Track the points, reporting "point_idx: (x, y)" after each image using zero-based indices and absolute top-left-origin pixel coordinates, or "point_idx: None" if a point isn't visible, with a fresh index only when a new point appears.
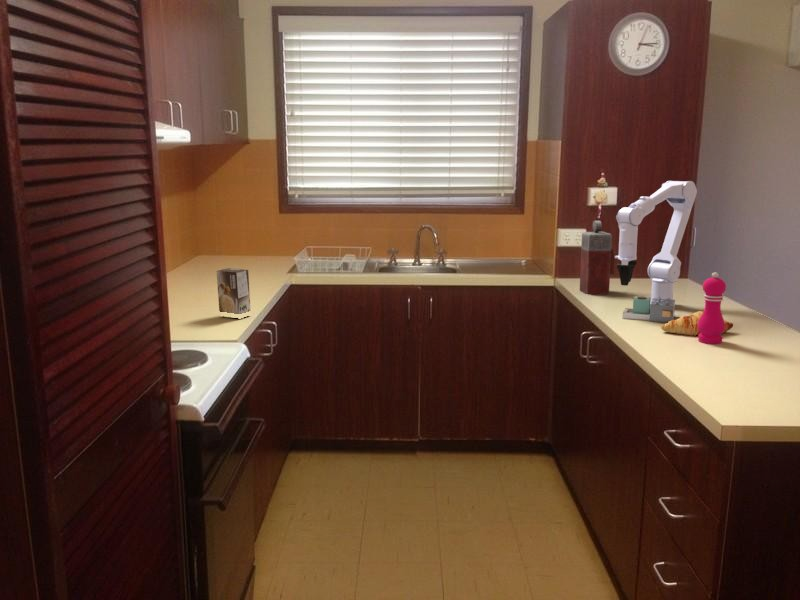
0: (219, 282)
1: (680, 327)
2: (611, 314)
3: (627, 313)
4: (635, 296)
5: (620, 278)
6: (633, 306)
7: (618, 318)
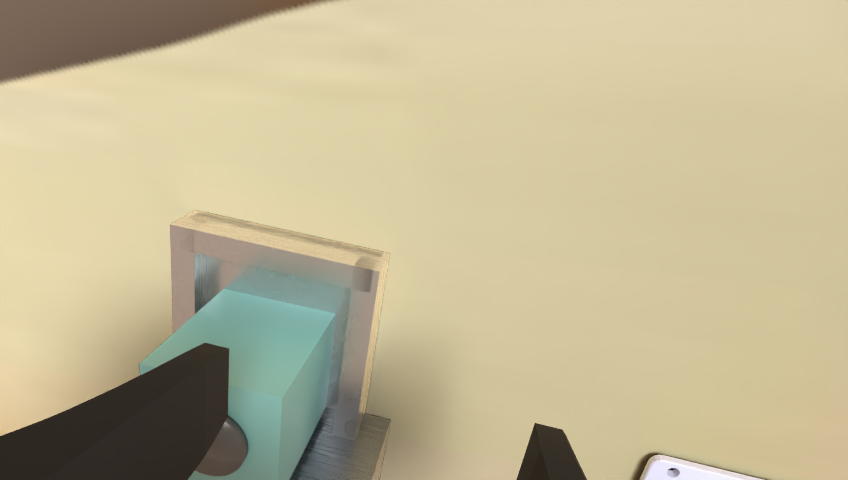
0: None
1: None
2: (314, 138)
3: (173, 258)
4: (279, 403)
5: (116, 390)
6: (182, 328)
7: (184, 181)
